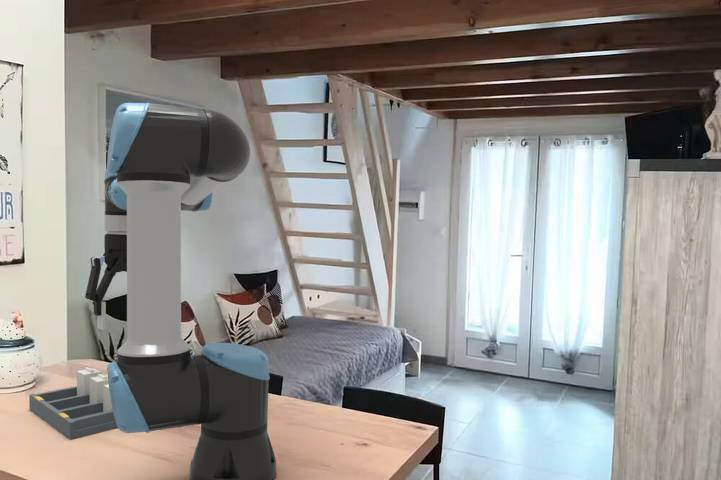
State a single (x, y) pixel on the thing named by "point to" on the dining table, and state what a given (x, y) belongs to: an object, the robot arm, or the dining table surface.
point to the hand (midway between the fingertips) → (120, 326)
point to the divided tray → (71, 412)
